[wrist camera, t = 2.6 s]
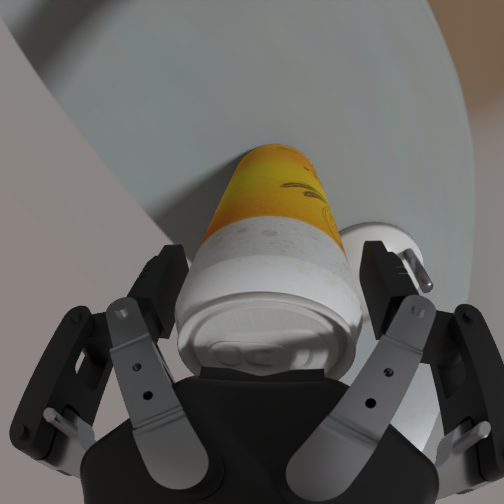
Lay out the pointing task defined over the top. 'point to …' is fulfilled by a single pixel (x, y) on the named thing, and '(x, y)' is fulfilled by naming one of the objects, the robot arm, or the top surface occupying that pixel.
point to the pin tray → (393, 242)
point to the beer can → (270, 276)
